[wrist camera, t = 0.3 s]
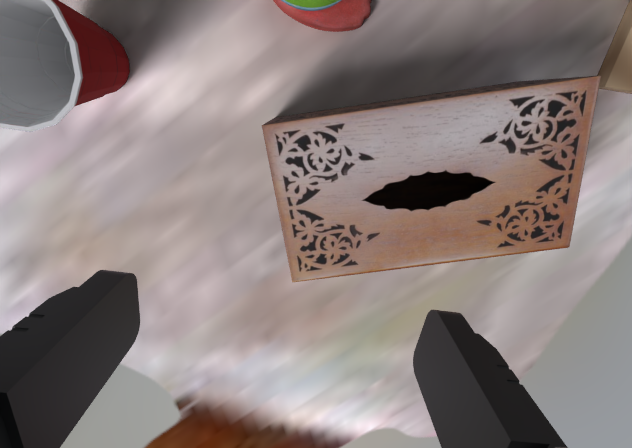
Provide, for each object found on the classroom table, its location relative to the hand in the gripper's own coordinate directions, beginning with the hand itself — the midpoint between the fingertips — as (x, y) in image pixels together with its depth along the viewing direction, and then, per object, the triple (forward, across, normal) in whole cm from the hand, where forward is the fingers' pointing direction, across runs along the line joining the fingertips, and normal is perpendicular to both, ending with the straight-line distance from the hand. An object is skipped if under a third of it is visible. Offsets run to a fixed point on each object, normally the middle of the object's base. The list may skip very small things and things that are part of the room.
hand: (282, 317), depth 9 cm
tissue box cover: (+29, -11, 0) cm, 31 cm away
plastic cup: (+29, +21, -5) cm, 36 cm away
